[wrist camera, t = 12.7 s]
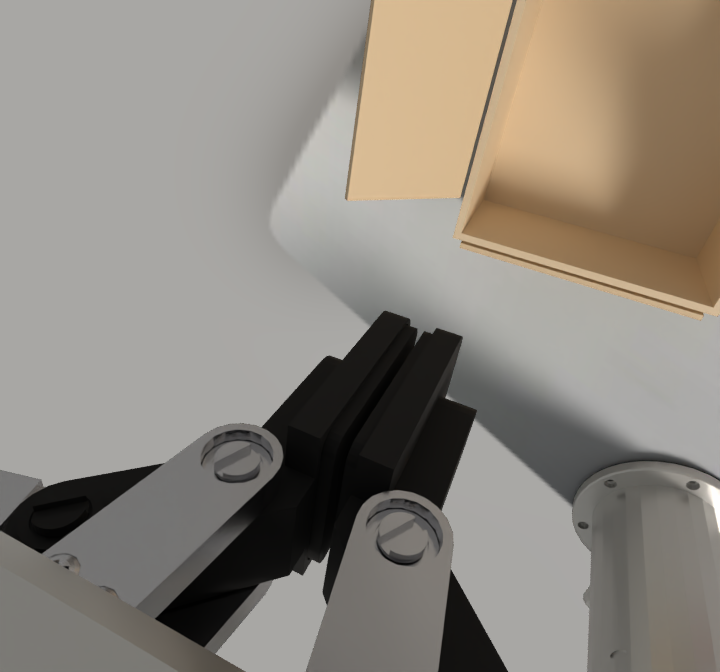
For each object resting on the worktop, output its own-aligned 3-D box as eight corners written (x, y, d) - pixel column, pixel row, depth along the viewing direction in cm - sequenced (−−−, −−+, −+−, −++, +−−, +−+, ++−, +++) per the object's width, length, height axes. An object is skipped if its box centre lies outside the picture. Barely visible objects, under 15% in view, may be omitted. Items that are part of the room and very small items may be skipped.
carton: (703, 274, 32) (723, 329, 26) (475, 209, 35) (450, 246, 30) (942, -122, 21) (1058, -169, 16) (581, -160, 25) (573, -209, 19)
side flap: (460, 197, 28) (347, 200, 25) (457, 195, 28) (344, 198, 25) (520, -30, 22) (382, -58, 19) (516, -30, 22) (378, -58, 19)
